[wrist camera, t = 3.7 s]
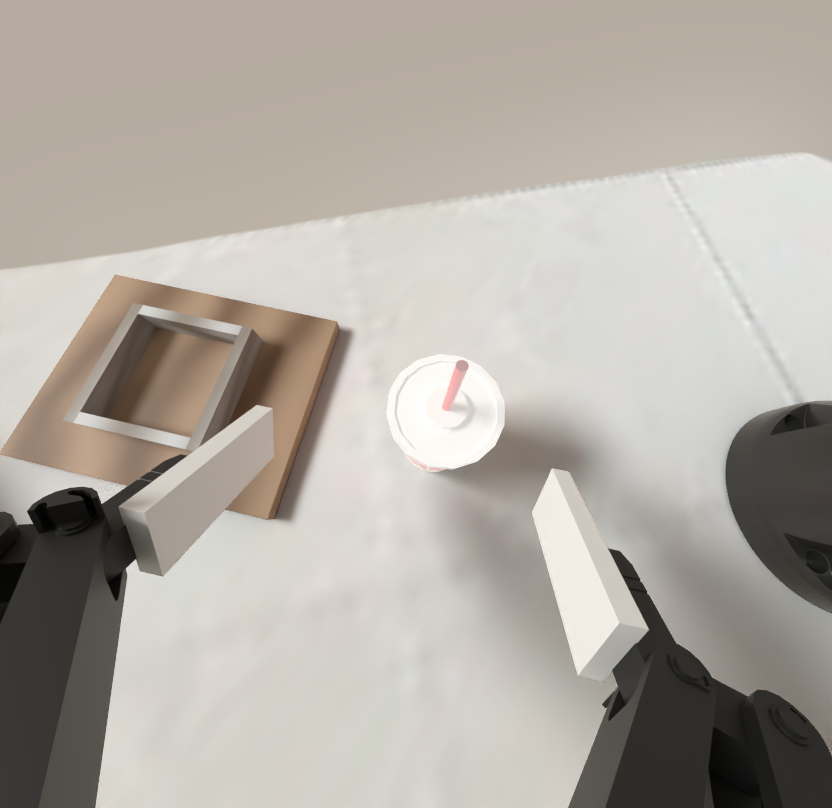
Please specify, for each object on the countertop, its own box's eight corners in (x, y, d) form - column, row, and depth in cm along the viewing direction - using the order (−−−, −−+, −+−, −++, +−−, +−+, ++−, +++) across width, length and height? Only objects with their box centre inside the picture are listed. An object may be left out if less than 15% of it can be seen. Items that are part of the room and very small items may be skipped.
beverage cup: (479, 417, 25) (558, 317, 12) (461, 492, 23) (532, 473, 10) (406, 396, 26) (405, 277, 12) (383, 469, 24) (352, 420, 11)
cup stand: (339, 329, 27) (331, 307, 24) (274, 518, 22) (253, 520, 19) (126, 284, 28) (93, 257, 25) (18, 456, 23) (-40, 449, 20)
